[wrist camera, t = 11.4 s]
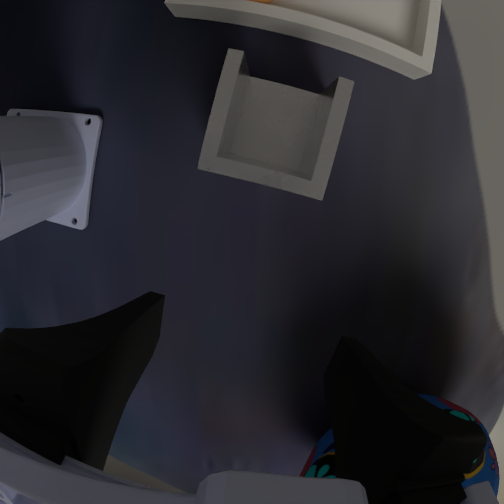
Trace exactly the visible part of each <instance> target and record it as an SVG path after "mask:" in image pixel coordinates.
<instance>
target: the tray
mask: <svg viewBox="0 0 504 504" xmlns="http://www.w3.org/2000/svg"><path fill="white" fill-rule="evenodd" d="M164 3H165V4H166V6H167V7H168V8H169V10H170V11H171V12H172V13H173V15H174V16H175V17H184V18H194V19H203V20H211V21H218V22H225V23H231V24H237V25H243V26H248V27H254V28H259V29H263V30H268V31H273V32H277V33H281V34H285V35H289V36H293V37H297V38H301V39H305V40H308V41H312V42H315V43H319V44H322V45H325V46H328V47H332V48H335V49H338V50H341V51H344V52H347V53H350V54H352V55H355V56H358V57H361V58H363V59H366V60H369V61H371V62H374V63H376V64H379V65H381V66H384V67H386V68H389V69H391V70H393V71H396V72H398V73H400V74H403V75H405V76H407V77H409V78H411V79H414V80H415V79H418V78H421V77H423V76H426V75H429V74H431V73H432V68H433V62H434V55H435V49H436V42H437V35H438V27H439V18H440V9H441V0H274V1H272V2H270V3H268V4H264V3H259V2H253V1H248V0H165V2H164Z"/></svg>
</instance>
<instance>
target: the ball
mask: <svg viewBox="0 0 504 504" xmlns="http://www.w3.org/2000/svg"><path fill="white" fill-rule="evenodd" d="M248 1H253V2H259V3H264V4H268V3H270V2H272V1H274V0H248Z"/></svg>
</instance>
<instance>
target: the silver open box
mask: <svg viewBox="0 0 504 504" xmlns="http://www.w3.org/2000/svg"><path fill="white" fill-rule="evenodd" d="M353 85H354V81H351V80H348V79H346V78H343V77H340V76H339V77H338V78H337V79H336V80H335V81H333V82H332V83H331V84H330V85H329V86H328V87H327V88H326V89H324V90H323V91H322V92H321V93H320V94H316V93H313V92H309V91H306V90H302V89H299V88H295V87H291V86H288V85H284V84H280V83H276V82H272V81H268V80H264V79H259V78H255V77H250V74H249V70H248V65H247V61H246V56H245V52H244V51H240V50H235V49H229V48H228V52H227V55H226V59H225V62H224V66H223V69H222V73H221V76H220V80H219V83H218V87H217V91H216V95H215V98H214V102H213V106H212V110H211V114H210V118H209V122H208V126H207V130H206V134H205V138H204V142H203V146H202V150H201V155H200V159H199V163H198V168H197V169H200V170H205V171H209V172H214V173H218V174H222V175H226V176H231V177H235V178H239V179H243V180H247V181H251V182H255V183H259V184H263V185H267V186H271V187H274V188H278V189H282V190H286V191H289V192H293V193H297V194H300V195H304V196H308V197H311V198H315V199H318V200H322V199H323V196H324V192H325V189H326V186H327V182H328V179H329V175H330V172H331V168H332V165H333V161H334V157H335V154H336V150H337V147H338V143H339V139H340V135H341V132H342V128H343V124H344V120H345V116H346V113H347V109H348V105H349V101H350V97H351V93H352V89H353Z"/></svg>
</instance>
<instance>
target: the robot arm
mask: <svg viewBox="0 0 504 504" xmlns="http://www.w3.org/2000/svg"><path fill="white" fill-rule="evenodd" d="M19 114H20V116H19ZM89 119H91V123H90V125H88V120H89ZM102 122H103V120H102V118H101V117H100V116H98V115H90V114H80V113H70V112H58V111H45V110H28V109H10V110H9V111H8V112H7V116H0V241H1V240H3V239H5V238H7V237H9V236H11V235H13V234H15V233H17V232H19V231H21V230H24V229H26V228H28V227H30V226H32V225H34V224H37V223H39V222H41V221H43V220H48V221H51V222H55V223H59V224H62V225H66V226H69V227H73V228H76V229H81V230H82V229H84V228H86V227H87V225H88V218H89V208H90V199H91V190H92V182H93V175H94V168H95V162H96V156H97V150H98V144H99V139H100V133H101V128H102ZM74 218H76V219H77V223H75V221H74ZM164 299H165V295H162V294H158V293H155V292H151V291H150V292H148V293H146V294H144V295H142V296H140V297H138V298H136V299H134V300H132V301H130V302H128V303H126V304H124V305H122V306H120V307H118V308H116V309H114V310H111V311H109V312H107V313H104V314H102V315H99V316H97V317H94V318H91V319H87V320H84V321H80V322H76V323H71V324H66V325H61V326H56V327H47V328H32V329H24V328H5V329H4V330H3V331H2V332H1V333H0V504H499V502H498V500H497V498H496V496H495V493H494V491H493V489H492V487H491V485H490V483H489V481H484V482H480V483H476V484H473V485H470V486H468V487H466V488H464V489H463V486H462V484H461V483H462V482H464V481H465V476H464V474H463V472H464V471H465V470H466V469H467V468H468V467H469V466H470V465H471V464H472V463H473V462H474V461H475V460H476V459H477V458H478V457H479V455H480V454H481V453H482V452H483V450H484V448H485V447H486V444H487V436H486V435H485V433H484V431H483V429H482V428H481V426H480V425H479V424H477V423H474V422H471V421H468V420H465V419H463V418H460V417H457V416H455V415H453V414H451V413H449V412H446V411H444V410H443V409H441V408H439V407H437V406H435V405H433V404H432V403H430V402H428V401H427V400H425V399H423V398H422V397H420V396H419V395H418V394H416V393H415V392H413V391H412V390H411V389H409V388H408V387H407V386H405V385H404V384H403V383H402V382H401V381H399V380H398V379H397V378H396V377H395V376H394V375H393V374H391V373H390V372H389V371H388V370H387V369H386V368H385V367H384V366H383V365H382V364H381V363H380V362H379V361H378V360H377V359H376V358H375V357H374V356H373V355H372V354H371V353H370V352H369V351H368V350H367V349H366V348H365V347H364V346H363V345H362V344H360V343H359V342H358V341H357V340H355V339H351V338H346V337H341V339H340V342H339V344H338V346H337V348H336V350H335V353H334V355H333V357H332V359H331V361H330V363H329V365H328V367H327V369H326V371H325V373H324V387H325V397H326V403H327V408H328V413H329V418H330V423H331V428H332V433H333V438H334V446H335V470H336V478H316V477H301V476H289V475H279V474H270V473H262V472H255V471H240V470H227V471H223V472H218V473H214V474H211V475H208V476H207V477H206V478H205V479H204V480H203V481H202V482H201V483H200V484H199V487H198V490H197V493H196V494H188V493H178V492H169V491H162V490H158V489H155V488H152V487H148V486H145V485H141V484H138V483H135V482H132V481H129V480H126V479H123V478H120V477H118V476H115V475H112V474H109V473H107V472H104V471H103V469H104V465H105V462H106V459H107V456H108V453H109V449H110V446H111V443H112V440H113V438H114V435H115V432H116V429H117V426H118V424H119V421H120V418H121V416H122V413H123V411H124V408H125V406H126V403H127V401H128V399H129V397H130V395H131V393H132V391H133V390H134V388H135V386H136V384H137V382H138V381H139V379H140V377H141V375H142V374H143V372H144V370H145V368H146V366H147V365H148V363H149V361H150V359H151V357H152V355H153V353H154V350H155V348H156V345H157V342H158V340H159V337H160V329H161V321H162V313H163V306H164Z"/></svg>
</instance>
